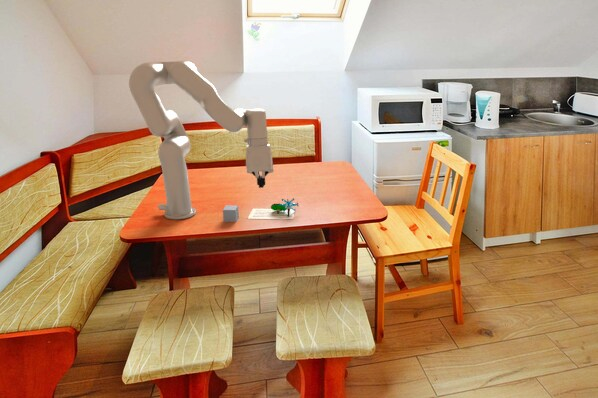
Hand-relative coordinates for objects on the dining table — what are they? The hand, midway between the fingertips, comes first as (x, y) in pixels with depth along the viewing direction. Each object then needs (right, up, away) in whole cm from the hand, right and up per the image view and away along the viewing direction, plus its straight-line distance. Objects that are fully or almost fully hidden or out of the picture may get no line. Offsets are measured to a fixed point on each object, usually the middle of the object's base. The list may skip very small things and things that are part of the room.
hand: (261, 186), depth 169 cm
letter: (+4, -11, +3) cm, 12 cm away
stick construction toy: (+9, -11, +3) cm, 15 cm away
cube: (-12, -13, -1) cm, 18 cm away
